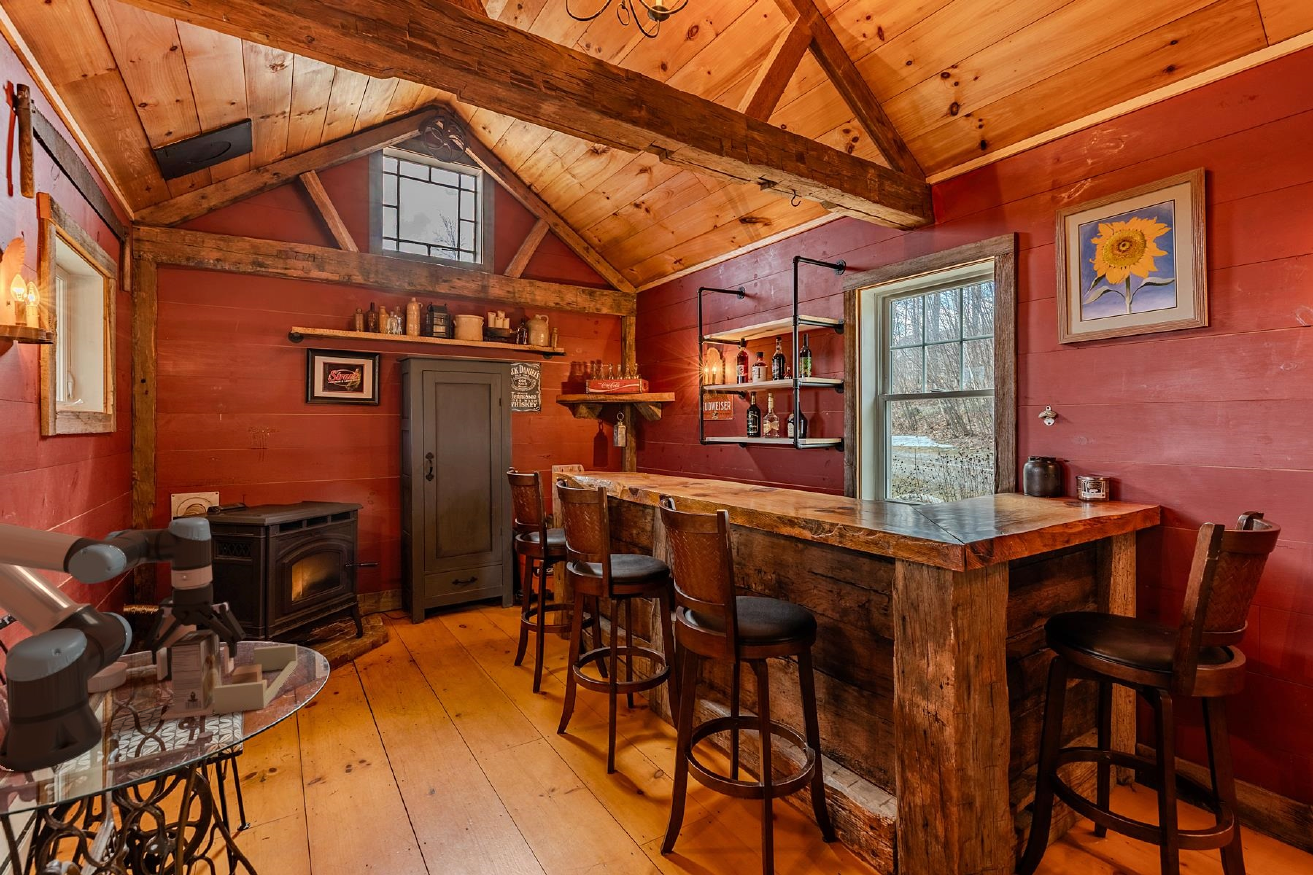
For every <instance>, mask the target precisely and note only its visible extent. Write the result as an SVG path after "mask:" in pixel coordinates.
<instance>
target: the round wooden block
mask: <svg viewBox="0 0 1313 875" xmlns="http://www.w3.org/2000/svg"><path fill="white" fill-rule="evenodd" d="M128 667H129V666H128V663H126V662H122V661H121V662H120V661H119V662H118V661H115V662H114V663H113V664H112V665H111V666H109V667H106V668H105V669H103V670H102V671H100V672H99V673H97V674H96V675H95V676H93V677H92V678H90V679H89V680H88V694H89V693H93V694H95V693H101V692H102V693H103V692H106V691H111V690H114V689H115V688H118V687H120V686H122V685H124V684H125V682H126V681H127V669H128Z"/></svg>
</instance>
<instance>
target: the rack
mask: <svg viewBox="0 0 1313 875" xmlns="http://www.w3.org/2000/svg"><path fill="white" fill-rule="evenodd" d="M298 663H299V661H298V644H297V643H295V644H286V645H274V646H263V647H254V649H253V665H257V664H261V665H262V672H266V671H267V672H268V671H275V670H276V671H278V670H277V669H279V670H282V671H281V673H280V674H279V675H278V676H277V677H276V679H274V681H273V682H272V683H271V684H270V685H269V687H267V690H266V692H265V681H263V682H252V683H242V684H232V683H231V684H224V685H223V684H222V686H216V687H215V688H214V706H215V712H214V714H215V715H217V714H218V715H219V714H227V712H228V713H235V712H244V711H245V712H246V710H247V711H254V710H263V709H265V708H266V707H267V705H268V704H269V703H270V701H272V699H273V698H274V697H275V695H276V694H277V693H278V691H279V690H280V689H281V688H282V687H283V685H284V684H285V683H286V681H287V680H288V679H289V678H290V676H291V675H292V674H293V673H294V671H295V670H296V669H297V668H296V666H297V665H298V666H299V664H298ZM298 666H297V667H298ZM295 668H296V669H295ZM294 669H295V670H294ZM293 670H294V671H293ZM292 672H293V673H292ZM291 673H292V674H291ZM290 674H291V675H290ZM289 675H290V676H289ZM288 677H289V678H288ZM287 678H288V679H287ZM286 679H287V680H286ZM285 680H286V681H285ZM284 682H285V683H284ZM283 683H284V684H283ZM280 687H281V688H280ZM279 688H280V689H279ZM243 710H244V711H243Z"/></svg>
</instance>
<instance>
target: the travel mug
mask: <svg viewBox="0 0 1313 875" xmlns="http://www.w3.org/2000/svg"><path fill="white" fill-rule="evenodd" d="M163 606H167V607H168V608H173V601H172V596H170V597H165V598H164V599H162V601H161V602H157V607H158V609H160V608H161V607H163ZM158 609H157V610H158ZM175 620H176V618H175V617H174V616H173V615H172V614H171V613H170V615H169V616H168V617H167V618H166V620H165V622H164V624H163V626H162V628H161V630H160V632H159V634H158V635H159V639H160V637H161V636H162V635H163V634H164V633H165V632H166V631H167V630H168V628H169V627H170V626H171V624H172V623H173V622H174V621H175ZM190 631H197V625H189V626H184V625H181V626H180V627H179V628H178V629H177V630H176V631H175V632H174V634H173V635H172V636H171V637H170V638H169V639H168V640H167V641H166V643H165V644H164V645H163V646H162V647H161V649H162V648H166V650H167V671H168V675H167V676H165V677H164V678H163V679H162V680H165V681H172V670H171V651H170V645H171V644H173V643H174V642H175V641H177V640H178V639H180V638H181V637H183V636H184V635H185V634H187V633H188V632H190ZM159 639H158V640H159Z"/></svg>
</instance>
